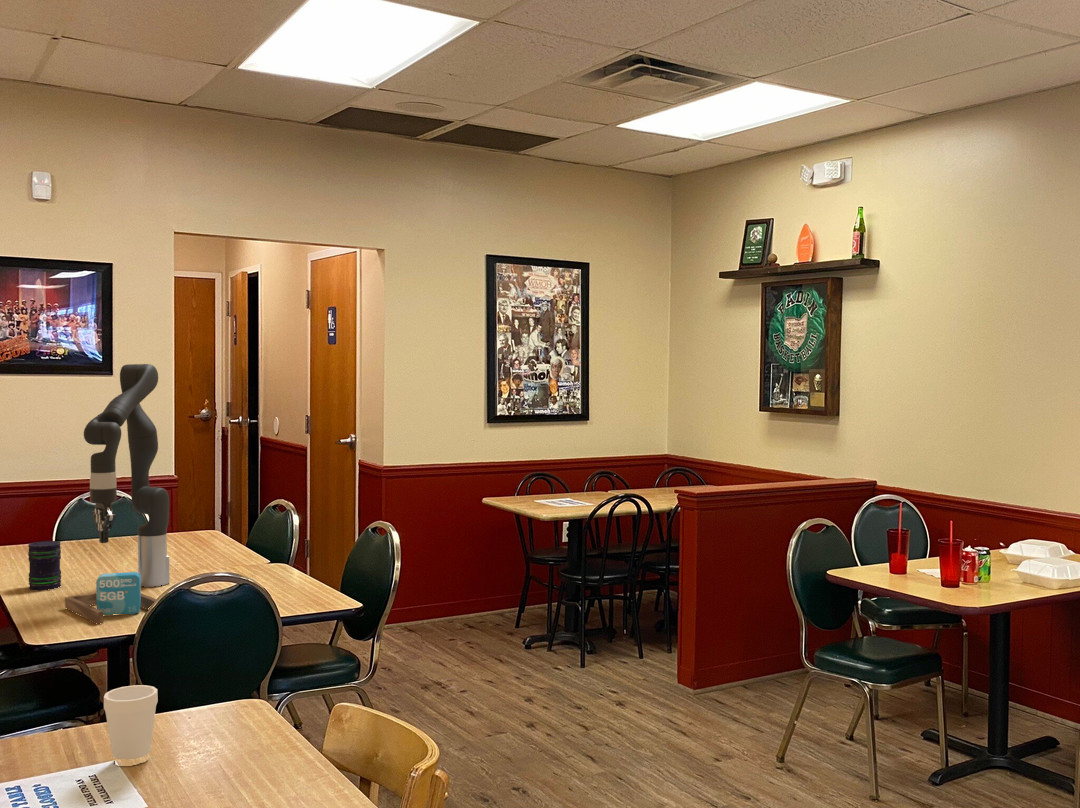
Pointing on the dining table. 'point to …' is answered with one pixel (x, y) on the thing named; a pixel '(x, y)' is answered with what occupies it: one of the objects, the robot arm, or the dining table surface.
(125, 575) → the data package
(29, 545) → the storage jar
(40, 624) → the dining table surface
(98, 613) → the walnut frame
